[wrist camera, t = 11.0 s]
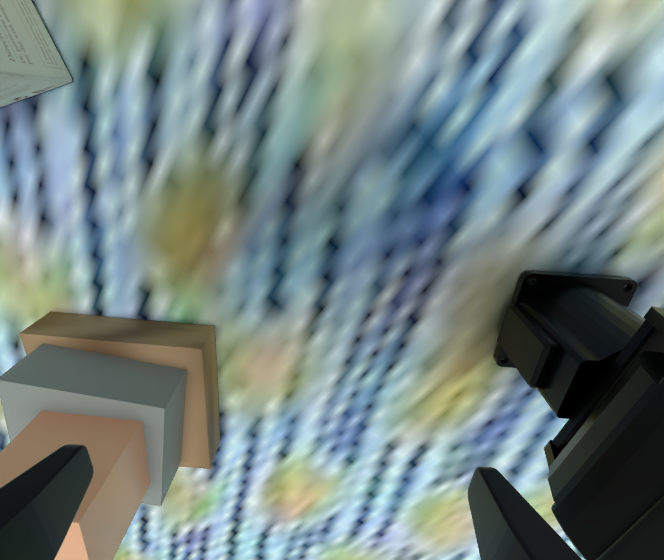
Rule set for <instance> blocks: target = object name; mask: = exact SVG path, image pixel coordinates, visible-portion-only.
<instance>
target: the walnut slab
mask: <svg viewBox="0 0 664 560" xmlns="http://www.w3.org/2000/svg"><path fill="white" fill-rule="evenodd" d="M19 334H20V337H21V340H22V343H23V346H24V349H25V352H26V355H28V354H30V353H31V352H32V351H33V350H35V349H36V348H37V347H39V346H40V345H41V344H42V343H45V344H50V345H56V346H61V347H67V348H72V349H78V350H83V351H89V352H94V353H100V354H105V355H111V356H116V357H122V358H127V359H132V360H138V361H143V362H149V363H154V364H160V365H165V366H171V367H176V368H182V369H187V380H186V394H185V409H184V423H183V438H182V452H181V462H180V464H179V466H180V467H193V468H207V469H210V468H211V465H212V462H213V459H214V456H215V454H216V451H217V448H218V445H219V442H220V419H219V399H218V379H217V358H216V338H215V326H208V325H197V324H185V323H174V322H163V321H152V320H140V319H129V318H118V317H106V316H95V315H84V314H72V313H61V312H49V313H48V314H47V315H45V316H44V317H42V318H41V319H39V320H38V321H36V322H35V323H34V324H32V325H31V326H29V327H28V328H26V329H25V330H24V331H22V332H21V333H19Z"/></svg>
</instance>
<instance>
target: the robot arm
mask: <svg viewBox="0 0 664 560" xmlns="http://www.w3.org/2000/svg"><path fill="white" fill-rule="evenodd" d="M530 278H533V279H532V281H531V282H528V283H527V281H528V279H530ZM625 285H627V286H626V287H625V288H624V286H625ZM636 288H637V283H636V282H635V281H634V280H632V279H630V278H627V277H617V276H602V275H587V274H573V273H558V272H544V271H526V272H524V273H523V274H522V275H521V277H520V279H519V282H518V285H517V288H516V291H515V294H514V297H513V300H512V303H511V305H510V306H509V307H508V309H507V312H506V316H505V319H504V322H503V325H502V328H501V331H500V334H499V337H498V345H497V349H496V352H495V355H494V360H495V362H496V363H497V365H499V366H501V367H513V368H517V369H518V371H519V372H520V374H521V375H522V376H523V378H524V379H525V381H526V382H527V384H528V385H529V386H530V387H531V388H535V389H538V391H539V392H540V393H541V395H542V396H543V397H544V399H545V400H546V402H547V403H548V404H549V406H550V407H551V408H552V410H553V411H554V413H555V414H556V415H557V417H559V418H566V419H569V420H568V421H567V423H566V424H565V425H564V427H563V428H562V429H561V430H560V432H559V433H558V434H557V436H556V437H555V438H554V440H550V441H549V442H548V443H547V445H546V446H545V447H544V450H545V454H546V458H547V462H548V466H549V476H548V481H549V485H550V489H551V492H552V496H553V499H554V502H555V503H554V504H553V505H552V511H553V514H554V516H555V517H556V519H557V521H558V523H559V524H560V526H561V528H562V529H563V531H564V533H565V535H566V536H567V537H568V539H569V540H570V541H571V543H572V544H573V545H574V547H575V548H576V549H577V551H578V552H579V553H580V554H581V555H582V557H583V558H584V559H585V560H664V309H661V308H657V307H653V306H652V307H651V308H650V310H649V311H648V312H647V314H646V315H645V316H644V318H645V319H644V318H643V317H641V316H640V315H638V314H636V313H635V312H633V311H632V310H630V309H629V308H627V307H628V305H629V303H630V301H631V299H632V297H633V295H634V293H635V291H636ZM503 357H505V358H504V359H503V360H501V359H502V358H503ZM93 473H94V468H93V464H92V461H91V458H90V455H89V452H88V449H87V447H86V446H84V445H77V444H67V445H64V446H62V447H60V448H59V449H57V450H56V451H54V452H53V453H51V454H50V455H48V456H47V457H45V458H44V459H42V460H41V461H39V462H38V463H36V464H35V465H33V466H32V467H31V468H29V469H28V470H26V471H25V472H23V473H22V474H20V475H19V476H17V477H16V478H14V479H13V480H11V481H10V482H8V483H7V484H5V485H4V486H2V487H1V488H0V560H54V559H55V557H56V556H57V554H58V552H59V549H60V547H61V545H62V543H63V541H64V539H65V537H66V535H67V533H68V530H69V528H70V526H71V524H72V522H73V520H74V517H75V515H76V513H77V511H78V509H79V507H80V504H81V502H82V500H83V498H84V496H85V493H86V491H87V489H88V487H89V485H90V483H91V480H92V478H93ZM468 500H469V505H470V510H471V515H472V519H473V524H474V529H475V534H476V538H477V543H478V548H479V553H480V557H481V560H582V559H581V558H580V557H579V556H578V555H577V554H576V553H575V552H574V551H573V550H572V549H571V548H570V547H569V546H568V545H567V543H566V542H565V541H564V540H563V539H562V538H561V537H560V536H559V535H558V534H557V533H556V532H555V531H554V530H553V529H552V528H551V526H550V525H549V524H548V523H547V522H546V521H545V520H544V519H543V518H542V517H541V516H540V515H539V514H538V513H537V512H536V511H535V509H534V508H533V507H532V506H531V505H530V504H529V503H528V502H527V501H526V500H525V499H524V498H523V497H522V496H521V495H520V494H519V492H518V491H517V490H516V489H515V488H514V487H513V486H512V485H511V484H510V483H509V482H508V481H507V480H506V479H505V478H504V477H503V475H502V474H501V473H500V472H499V471H498V470H496V469H495V468H492V467H477V468H476V469H475V472H474V474H473V477H472V480H471V483H470V485H469V488H468Z"/></svg>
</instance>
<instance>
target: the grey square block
mask: <svg viewBox="0 0 664 560" xmlns="http://www.w3.org/2000/svg"><path fill="white" fill-rule="evenodd" d="M186 380H187V369H182V368H176V367H171V366H165V365H160V364H154V363H149V362H143V361H138V360H132V359H127V358H122V357H116V356H111V355H105V354H100V353H94V352H89V351H83V350H78V349H72V348H67V347H61V346H56V345H50V344H45V343H42V344H41V345H40V346H39V347H37V348H36V349H35V350H33V351H32V352H31V353H30V354H28V355H27V356H26V357H25V358H23V359H22V360H21V361H19V362H18V363H17V364H16V365H14V366H13V367H12V368H10V369H9V370H8V371H7V372H5V373H4V374H3V375H2V376H0V398H1V403H2V407H3V411H4V416H5V420H6V425H7V429H8V434H9V438H10V442H11V441H12V440H13V439H14V438H15V437H16V436H17V435H18V434H19V433H20V432H21V431H22V430H23V429H24V428H25V427H26V426H27V425H28V424H29V423H30V422H31V421H32V420H33V419H34V418H35V417H36V416H37V415H38V414H39V413H40V412H41V411H51V412H60V413H70V414H80V415H89V416H98V417H108V418H117V419H126V420H136V421H142V423H143V431H144V439H145V447H146V456H147V464H148V472H149V480H150V486H149V488H148V490H147V492H146V494H145V496H144V498H143V500H142V502H141V503H143V504H150V505H157V506H161V505H162V503H163V500H164V498H165V496H166V494H167V491H168V489H169V487H170V485H171V482H172V480H173V478H174V476H175V473H176V471H177V469H178V467H179V464H180V462H181V452H182V438H183V423H184V409H185V394H186Z"/></svg>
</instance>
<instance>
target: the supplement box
mask: <svg viewBox="0 0 664 560" xmlns="http://www.w3.org/2000/svg"><path fill="white" fill-rule="evenodd" d="M70 82H72V78H71V76H70V74H69V72H68V70H67V68H66V66H65V64H64V62H63V61H62V59H61V57H60V55H59V53H58V51H57V49H56V47H55V45H54V43H53V41H52V39H51V37H50V35H49V34H48V32H47V30H46V28H45V26H44V24H43V22H42V20H41V18H40V16H39V14H38V13H37V11H36V9H35V7H34V5H33V3H32V1H31V0H0V107H3V106H6V105H9V104H12V103H14V102H17V101H20V100H23V99H26V98H29V97H32V96H34V95H37V94H40V93H43V92H46V91H48V90H51V89H53V88H56V87H60V86H62V85H65V84H68V83H70Z"/></svg>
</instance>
